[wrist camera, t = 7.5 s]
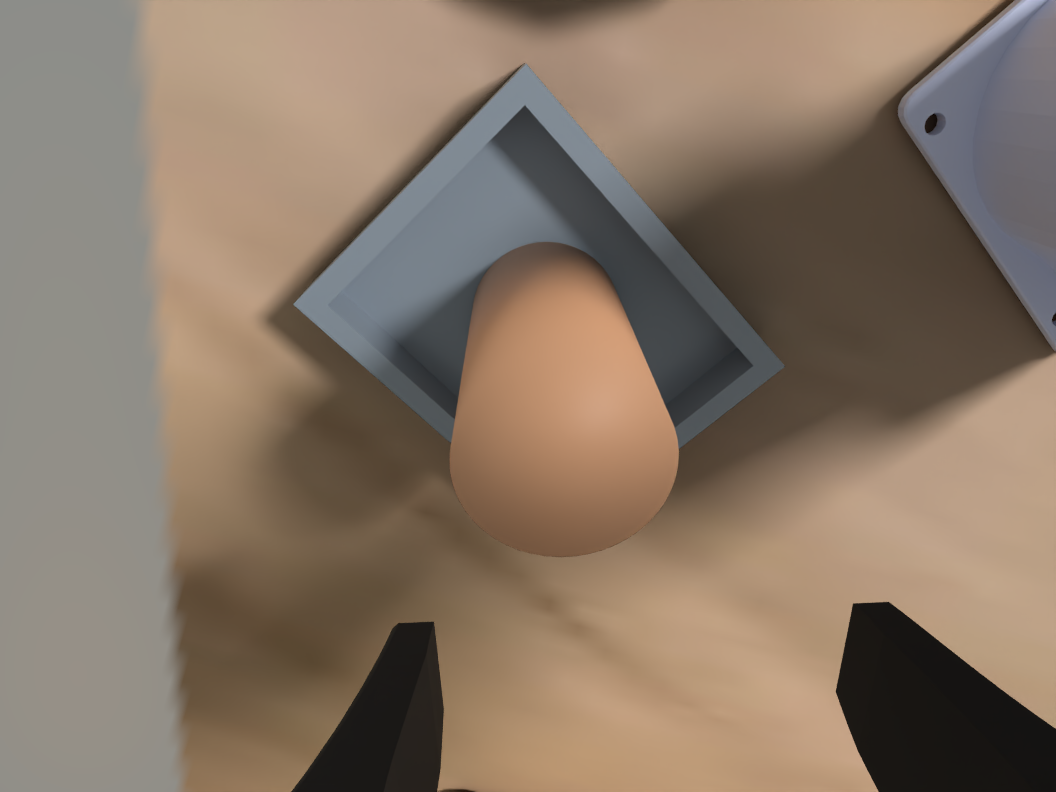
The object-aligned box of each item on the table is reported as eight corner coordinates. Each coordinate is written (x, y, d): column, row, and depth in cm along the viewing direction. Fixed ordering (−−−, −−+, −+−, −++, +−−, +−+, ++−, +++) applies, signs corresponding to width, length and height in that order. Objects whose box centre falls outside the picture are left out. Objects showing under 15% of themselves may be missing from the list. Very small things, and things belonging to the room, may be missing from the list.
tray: (761, 340, 21) (785, 366, 19) (556, 502, 23) (561, 540, 21) (524, 63, 18) (525, 63, 16) (312, 282, 20) (293, 304, 18)
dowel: (648, 315, 20) (725, 465, 13) (542, 407, 21) (557, 592, 14) (549, 209, 19) (572, 309, 12) (442, 312, 20) (401, 462, 13)
